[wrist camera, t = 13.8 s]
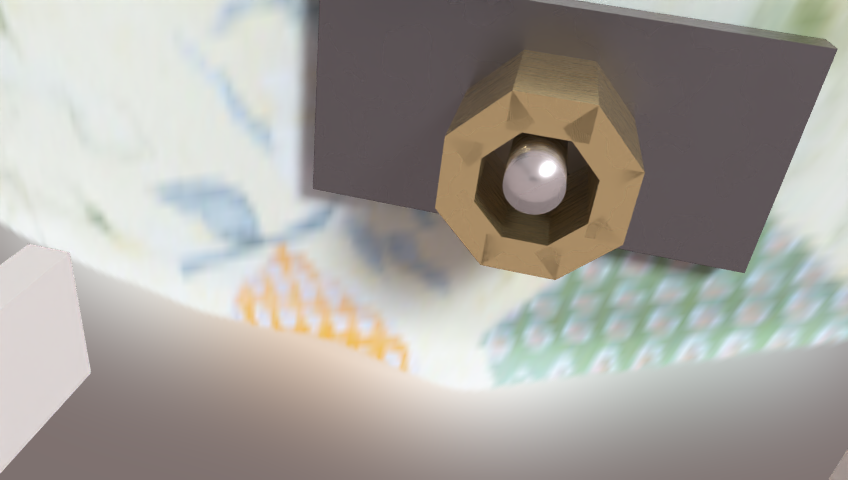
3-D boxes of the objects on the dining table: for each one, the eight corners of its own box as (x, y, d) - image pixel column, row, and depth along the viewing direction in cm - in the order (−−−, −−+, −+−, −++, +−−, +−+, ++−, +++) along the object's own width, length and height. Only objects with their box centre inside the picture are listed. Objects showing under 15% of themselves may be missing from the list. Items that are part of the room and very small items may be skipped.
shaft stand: (322, 176, 34) (263, 251, 28) (332, -38, 29) (262, -6, 23) (738, 256, 32) (776, 357, 26) (825, 39, 27) (900, 98, 21)
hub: (451, 194, 32) (428, 254, 27) (474, 41, 28) (452, 80, 24) (605, 223, 31) (609, 291, 26) (648, 70, 28) (661, 115, 23)
